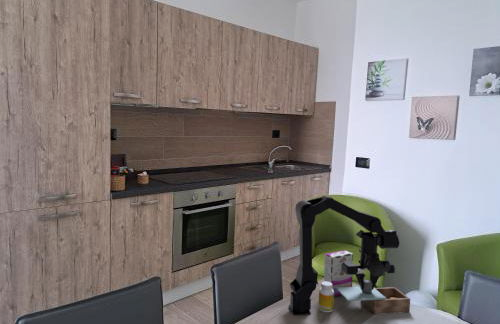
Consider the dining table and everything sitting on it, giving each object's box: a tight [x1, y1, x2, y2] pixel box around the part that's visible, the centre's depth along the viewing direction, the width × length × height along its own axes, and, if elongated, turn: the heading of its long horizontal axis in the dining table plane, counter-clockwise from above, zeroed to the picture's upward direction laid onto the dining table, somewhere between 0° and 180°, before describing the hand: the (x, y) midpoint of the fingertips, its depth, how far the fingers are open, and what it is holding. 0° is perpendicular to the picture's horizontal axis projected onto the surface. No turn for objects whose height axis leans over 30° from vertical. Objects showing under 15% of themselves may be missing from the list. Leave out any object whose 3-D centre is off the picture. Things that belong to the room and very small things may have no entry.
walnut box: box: [360, 286, 411, 315], centre depth 131 cm, size 14×10×5 cm
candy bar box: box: [323, 250, 354, 298], centre depth 142 cm, size 11×5×16 cm, turn 117°
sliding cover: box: [337, 279, 386, 302], centre depth 129 cm, size 14×10×5 cm
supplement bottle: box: [317, 280, 335, 313], centre depth 128 cm, size 5×5×10 cm
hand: (366, 289), depth 130 cm, fingers closed on sliding cover, 3 cm apart
